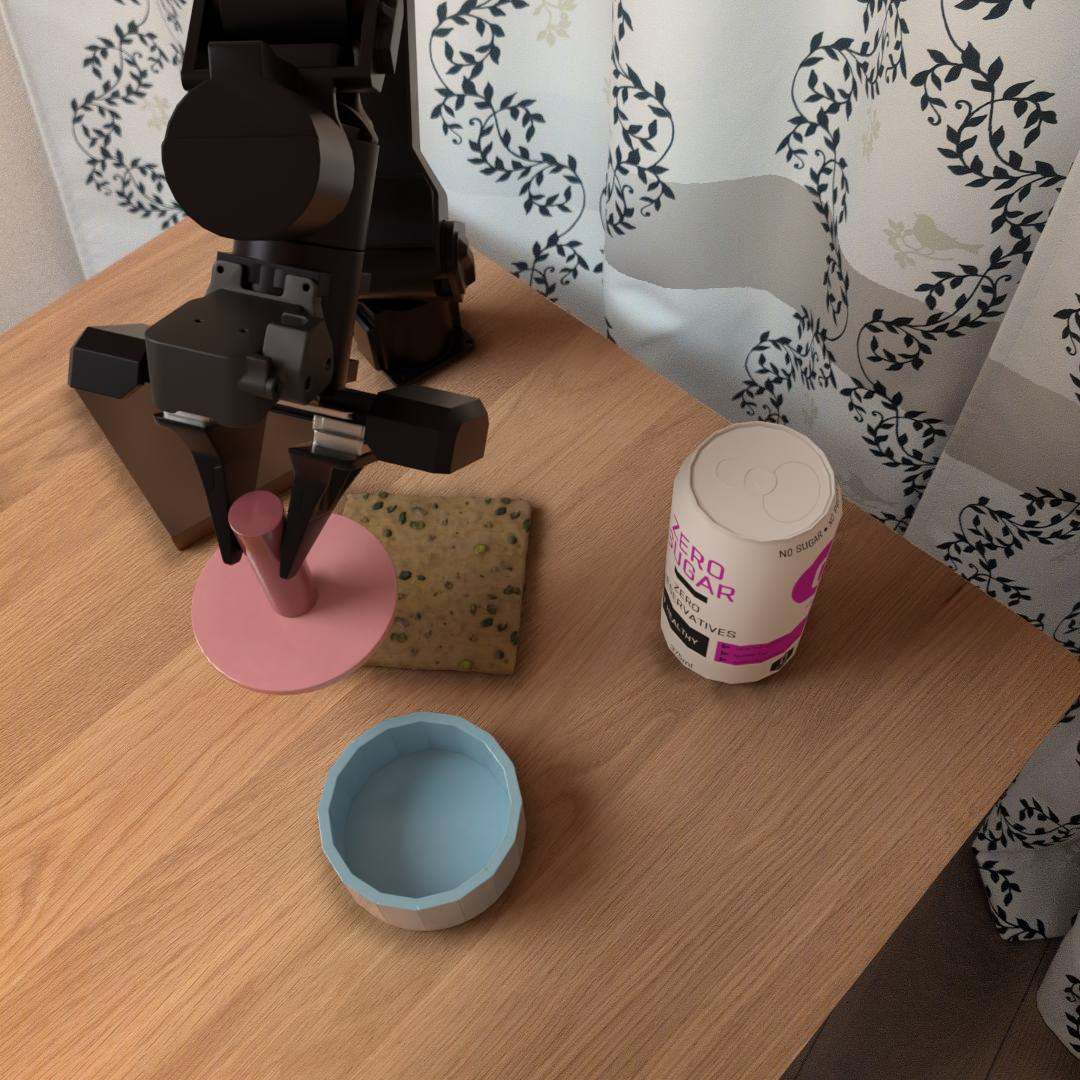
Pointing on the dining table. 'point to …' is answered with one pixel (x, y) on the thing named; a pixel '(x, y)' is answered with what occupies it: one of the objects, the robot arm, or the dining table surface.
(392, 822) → the bowl
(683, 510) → the supplement can
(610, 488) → the dining table surface
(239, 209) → the robot arm
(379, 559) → the lid
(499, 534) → the cookie
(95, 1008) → the dining table surface
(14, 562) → the dining table surface
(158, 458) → the board
